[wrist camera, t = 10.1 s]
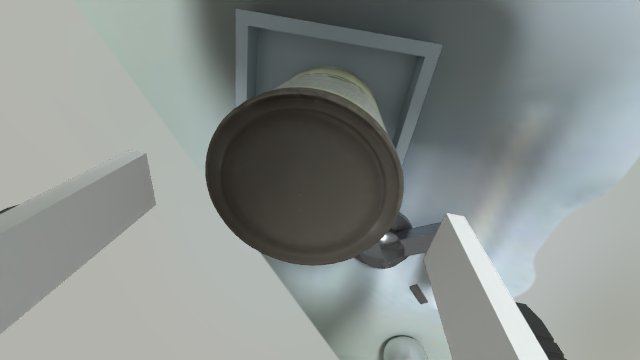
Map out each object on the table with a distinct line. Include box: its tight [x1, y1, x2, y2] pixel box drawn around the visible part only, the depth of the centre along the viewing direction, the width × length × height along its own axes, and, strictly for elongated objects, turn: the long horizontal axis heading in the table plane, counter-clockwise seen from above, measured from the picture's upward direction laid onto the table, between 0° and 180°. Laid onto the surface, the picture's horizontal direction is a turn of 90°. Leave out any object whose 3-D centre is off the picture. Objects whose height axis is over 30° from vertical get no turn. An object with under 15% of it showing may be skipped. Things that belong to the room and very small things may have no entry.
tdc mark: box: [410, 285, 428, 304], centre depth 36 cm, size 4×1×1 cm, turn 33°
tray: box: [236, 9, 443, 167], centre depth 25 cm, size 16×16×3 cm
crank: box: [360, 222, 441, 269], centre depth 26 cm, size 12×5×8 cm, turn 111°
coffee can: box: [206, 66, 404, 265], centre depth 20 cm, size 10×10×14 cm
